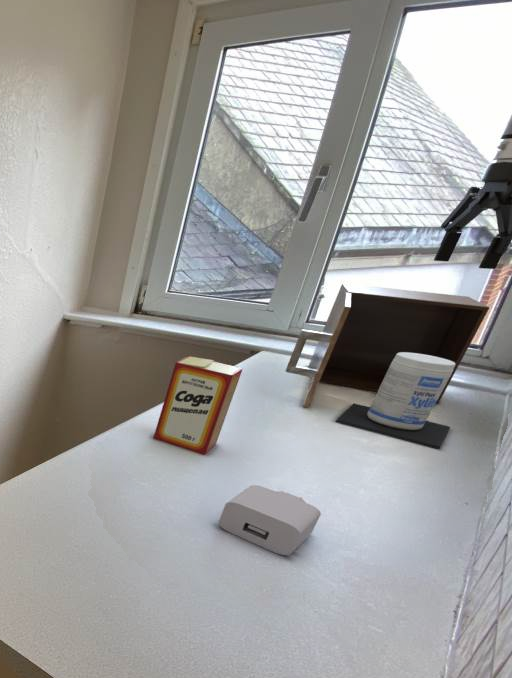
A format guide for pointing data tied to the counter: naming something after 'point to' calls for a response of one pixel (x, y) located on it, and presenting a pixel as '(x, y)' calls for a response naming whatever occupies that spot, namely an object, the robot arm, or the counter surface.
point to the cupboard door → (325, 354)
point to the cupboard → (395, 332)
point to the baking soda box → (197, 403)
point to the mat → (425, 436)
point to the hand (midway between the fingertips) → (462, 264)
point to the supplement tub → (410, 390)
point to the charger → (269, 518)
